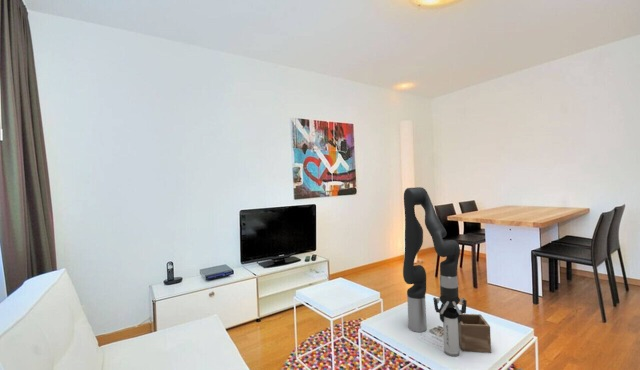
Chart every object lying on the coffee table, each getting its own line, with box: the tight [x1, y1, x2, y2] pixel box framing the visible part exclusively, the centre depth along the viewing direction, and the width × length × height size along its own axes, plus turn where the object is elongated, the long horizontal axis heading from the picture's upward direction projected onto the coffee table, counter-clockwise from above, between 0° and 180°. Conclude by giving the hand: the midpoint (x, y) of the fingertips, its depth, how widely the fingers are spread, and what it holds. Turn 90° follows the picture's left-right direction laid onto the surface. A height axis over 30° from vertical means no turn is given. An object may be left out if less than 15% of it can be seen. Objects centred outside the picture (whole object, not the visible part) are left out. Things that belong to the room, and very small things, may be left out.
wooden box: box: [458, 313, 492, 354], centre depth 138 cm, size 12×12×12 cm
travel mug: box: [442, 307, 460, 357], centre depth 133 cm, size 6×7×20 cm
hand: (450, 321), depth 133 cm, fingers closed on travel mug, 6 cm apart
